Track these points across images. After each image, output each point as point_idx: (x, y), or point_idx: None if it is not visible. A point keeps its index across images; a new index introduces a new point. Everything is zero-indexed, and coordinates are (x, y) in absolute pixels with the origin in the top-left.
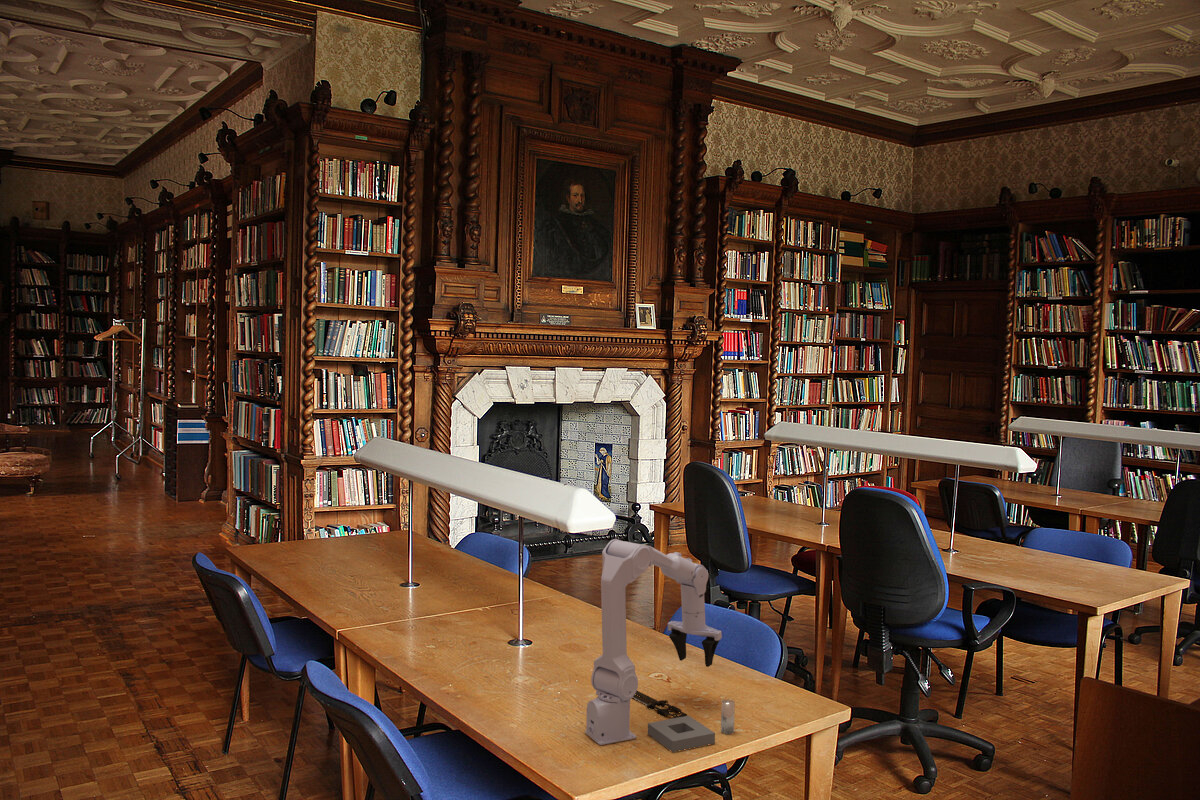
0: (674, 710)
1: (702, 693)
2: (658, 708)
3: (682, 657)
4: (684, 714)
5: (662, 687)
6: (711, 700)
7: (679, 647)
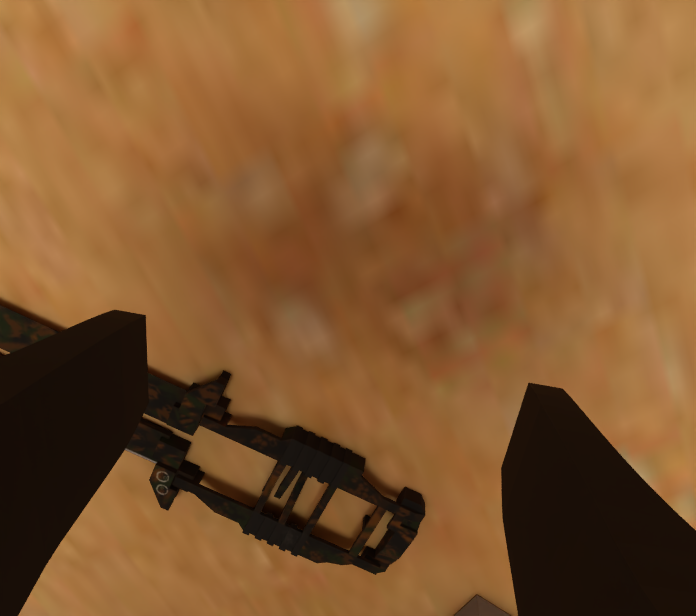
0: (331, 492)
1: (349, 38)
2: (238, 512)
3: (132, 406)
4: (411, 520)
5: (26, 90)
6: (470, 153)
7: (37, 564)
